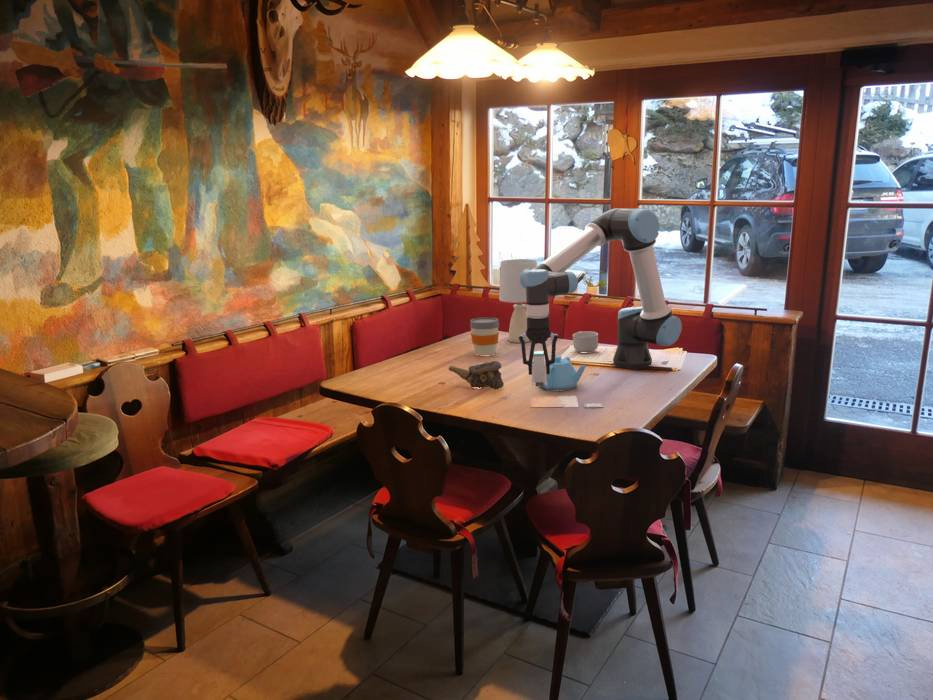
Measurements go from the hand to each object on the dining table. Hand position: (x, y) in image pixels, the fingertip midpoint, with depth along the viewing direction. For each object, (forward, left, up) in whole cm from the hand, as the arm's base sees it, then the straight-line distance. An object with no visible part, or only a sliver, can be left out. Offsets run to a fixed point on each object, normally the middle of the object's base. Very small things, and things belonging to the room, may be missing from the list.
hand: (539, 383), depth 260 cm
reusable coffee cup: (+22, -70, -6) cm, 74 cm away
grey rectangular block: (0, 0, -1) cm, 1 cm away
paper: (-5, +2, -6) cm, 8 cm away
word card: (-18, +7, -6) cm, 20 cm away
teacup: (-21, -72, -6) cm, 75 cm away
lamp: (+7, -95, -6) cm, 96 cm away
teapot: (-7, -18, -6) cm, 20 cm away
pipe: (+23, -18, -6) cm, 30 cm away
